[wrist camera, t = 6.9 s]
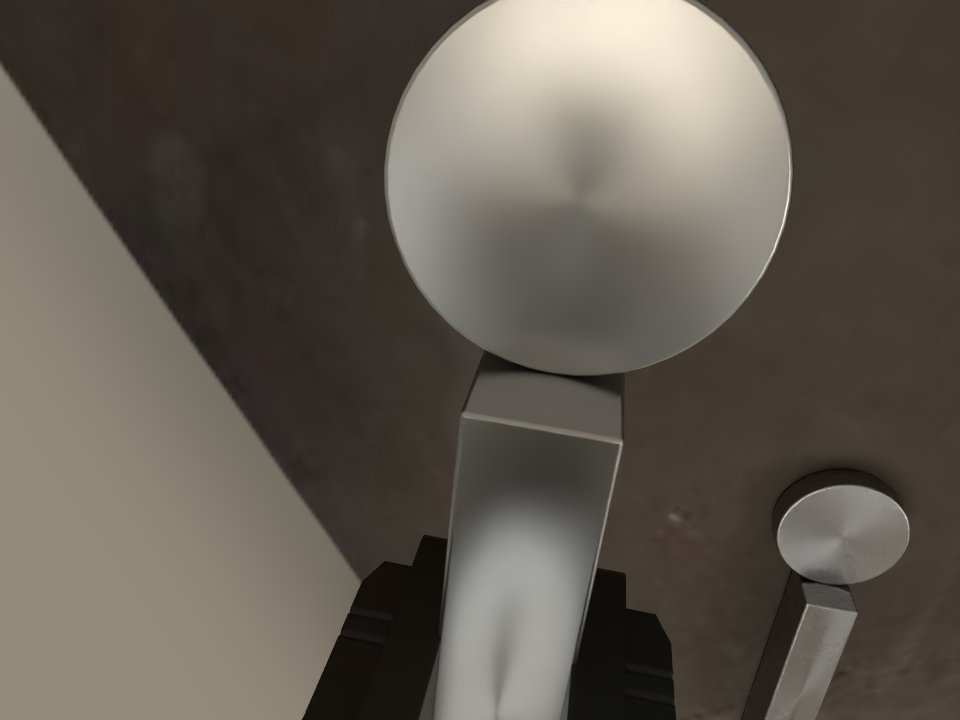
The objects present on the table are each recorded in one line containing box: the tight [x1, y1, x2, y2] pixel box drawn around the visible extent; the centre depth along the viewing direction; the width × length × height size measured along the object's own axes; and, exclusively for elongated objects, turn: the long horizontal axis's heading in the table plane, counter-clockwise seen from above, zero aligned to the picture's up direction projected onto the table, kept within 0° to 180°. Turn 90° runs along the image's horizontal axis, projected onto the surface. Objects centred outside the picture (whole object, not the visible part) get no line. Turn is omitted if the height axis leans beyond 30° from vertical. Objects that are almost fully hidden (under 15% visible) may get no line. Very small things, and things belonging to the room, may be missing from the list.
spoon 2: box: [742, 470, 910, 720], centre depth 29 cm, size 13×4×2 cm, turn 175°
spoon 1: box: [384, 0, 794, 720], centre depth 10 cm, size 13×4×2 cm, turn 174°
